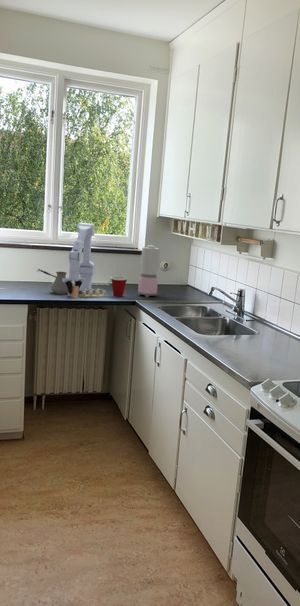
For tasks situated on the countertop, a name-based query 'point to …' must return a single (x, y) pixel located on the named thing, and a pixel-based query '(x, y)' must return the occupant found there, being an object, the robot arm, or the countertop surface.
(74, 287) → the upright peach slab
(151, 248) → the blender
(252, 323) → the countertop surface
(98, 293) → the dish rack
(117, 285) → the plastic cup
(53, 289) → the coffee pot
